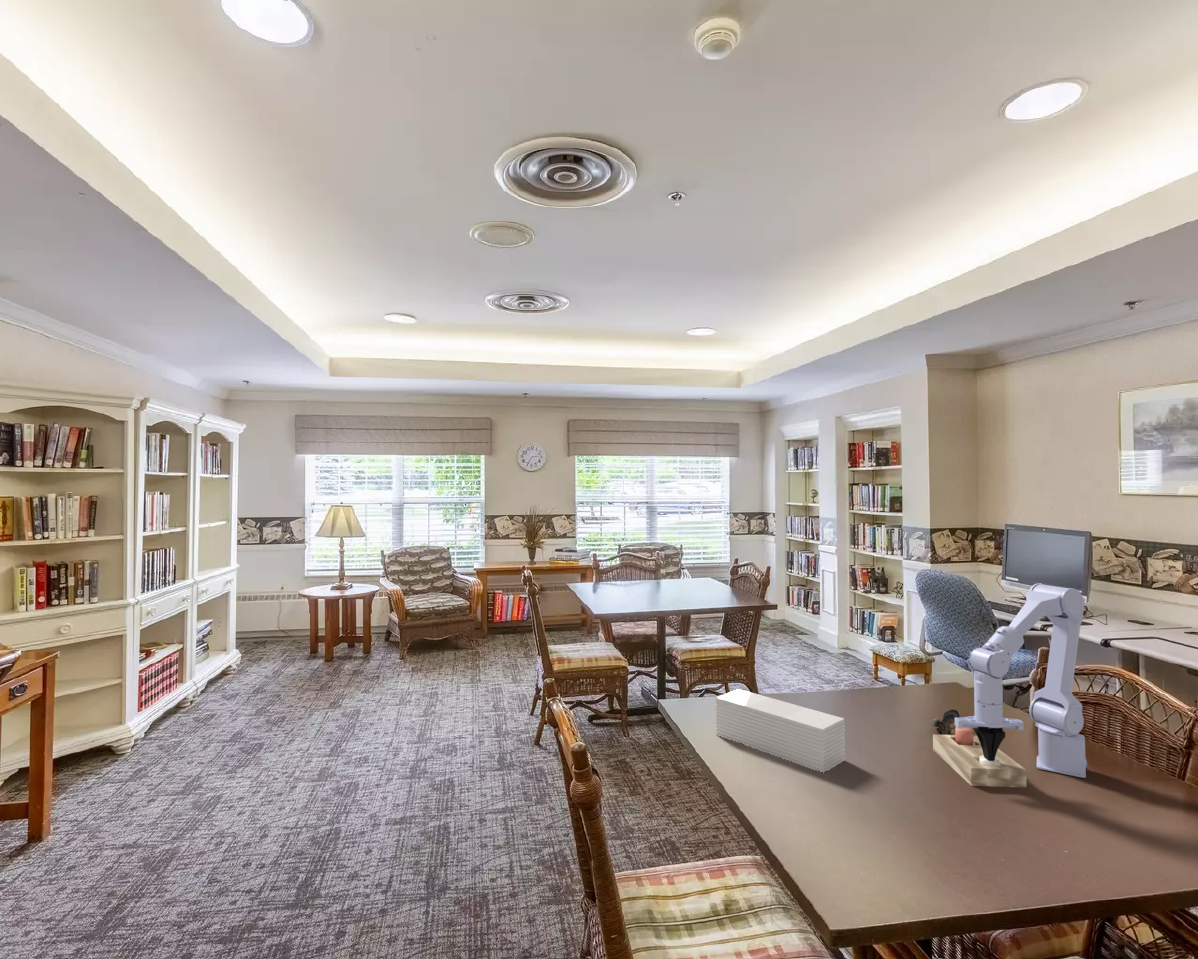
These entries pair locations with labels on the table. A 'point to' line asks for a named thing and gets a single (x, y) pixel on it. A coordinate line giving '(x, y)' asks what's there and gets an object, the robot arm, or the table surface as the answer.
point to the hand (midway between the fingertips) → (989, 759)
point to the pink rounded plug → (964, 736)
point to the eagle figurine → (946, 722)
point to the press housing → (979, 764)
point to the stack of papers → (782, 729)
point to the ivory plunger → (988, 763)
